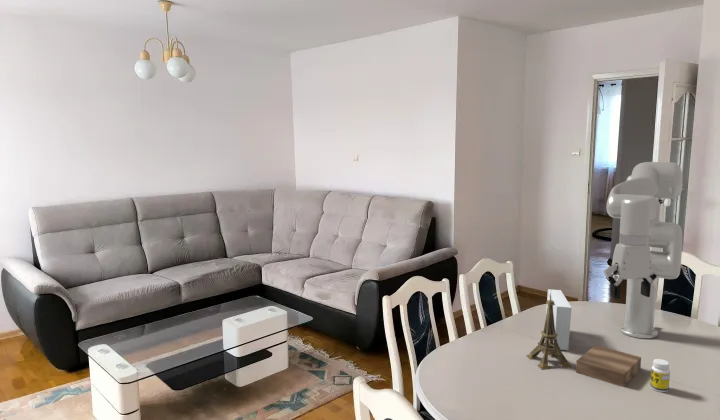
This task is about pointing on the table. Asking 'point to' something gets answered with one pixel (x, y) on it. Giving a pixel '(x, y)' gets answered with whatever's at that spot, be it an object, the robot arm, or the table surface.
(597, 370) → the podium
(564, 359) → the eiffel tower
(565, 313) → the skincare box
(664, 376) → the supplement bottle
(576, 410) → the table surface
